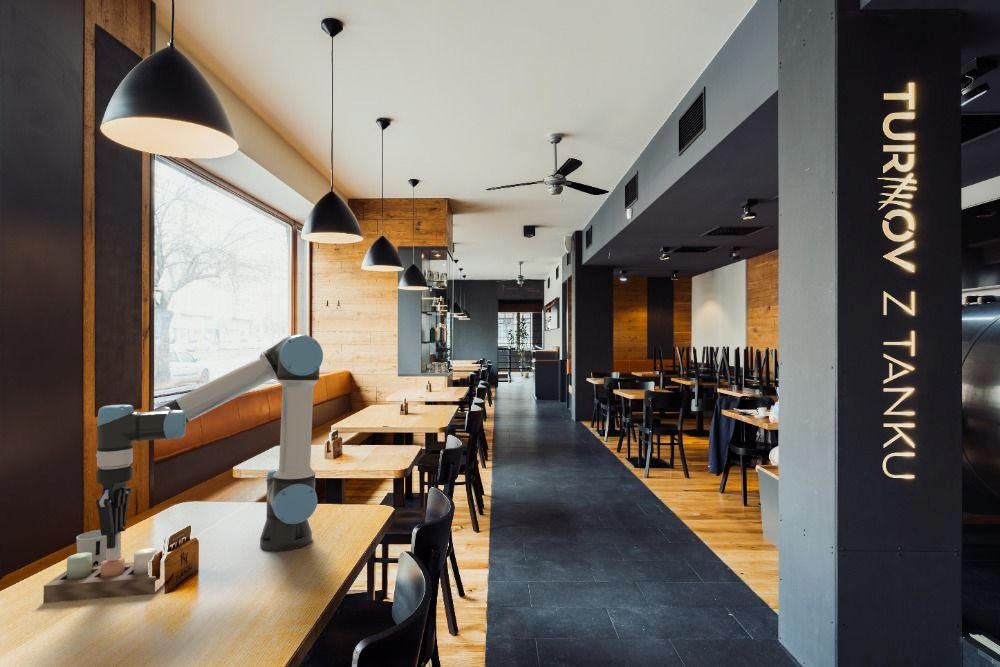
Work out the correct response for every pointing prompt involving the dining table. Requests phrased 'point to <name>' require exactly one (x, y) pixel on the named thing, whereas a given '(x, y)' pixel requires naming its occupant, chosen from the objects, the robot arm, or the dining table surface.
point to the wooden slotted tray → (99, 586)
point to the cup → (92, 545)
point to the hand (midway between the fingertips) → (113, 559)
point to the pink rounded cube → (112, 567)
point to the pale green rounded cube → (79, 565)
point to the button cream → (143, 560)
